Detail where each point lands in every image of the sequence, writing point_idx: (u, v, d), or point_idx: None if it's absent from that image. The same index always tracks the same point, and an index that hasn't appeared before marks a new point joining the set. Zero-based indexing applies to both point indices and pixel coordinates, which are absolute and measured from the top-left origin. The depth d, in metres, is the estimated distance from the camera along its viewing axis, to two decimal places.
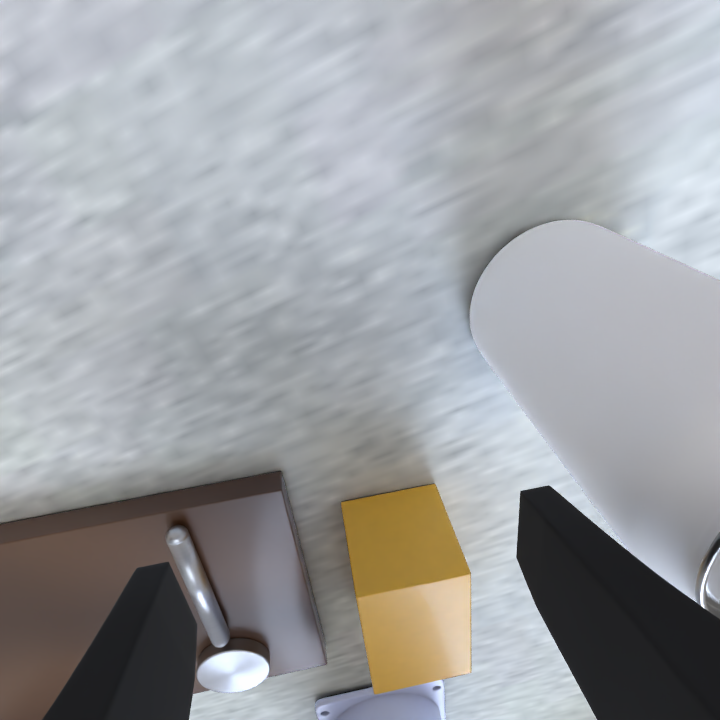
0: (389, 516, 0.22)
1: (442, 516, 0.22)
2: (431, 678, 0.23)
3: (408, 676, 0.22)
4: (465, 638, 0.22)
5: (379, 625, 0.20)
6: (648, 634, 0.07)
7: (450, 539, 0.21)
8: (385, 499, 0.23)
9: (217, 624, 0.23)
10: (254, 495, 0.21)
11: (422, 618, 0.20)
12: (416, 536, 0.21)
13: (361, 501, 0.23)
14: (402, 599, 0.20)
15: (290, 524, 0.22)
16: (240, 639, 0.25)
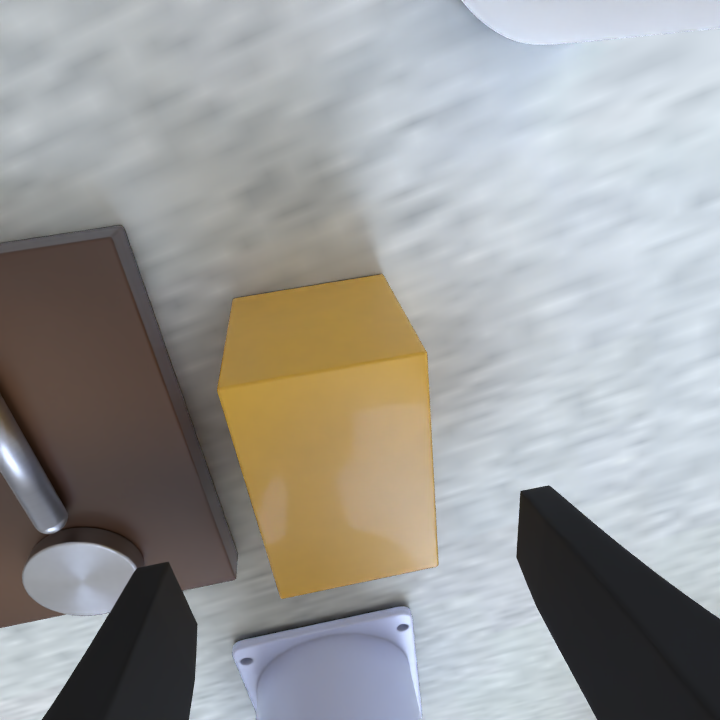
0: (303, 305, 0.14)
1: (388, 300, 0.13)
2: (372, 573, 0.14)
3: (333, 567, 0.14)
4: (424, 496, 0.13)
5: (270, 457, 0.12)
6: (648, 634, 0.07)
7: (397, 320, 0.12)
8: (302, 291, 0.15)
9: (35, 491, 0.15)
10: (63, 246, 0.12)
11: (346, 447, 0.12)
12: (341, 321, 0.13)
13: (264, 295, 0.15)
14: (304, 401, 0.11)
15: (138, 314, 0.13)
16: (90, 529, 0.16)
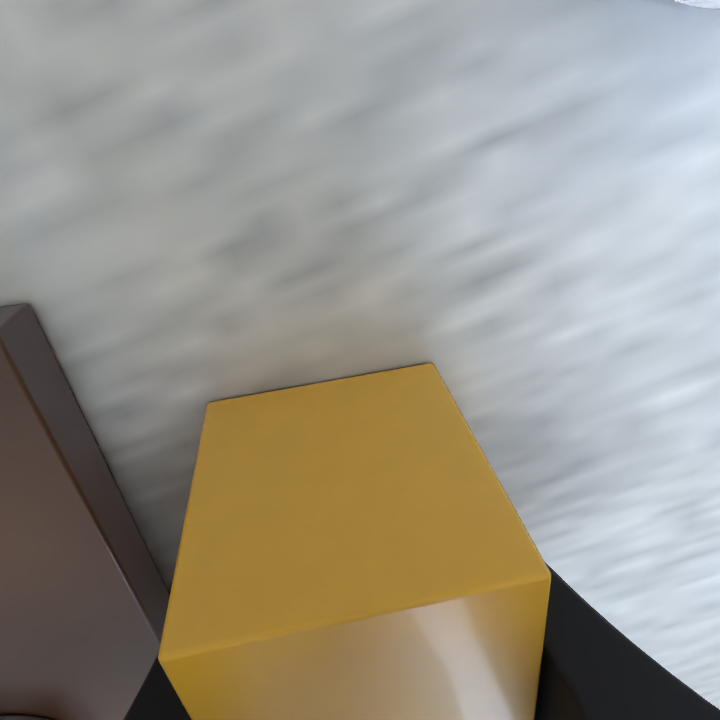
0: (315, 427, 0.09)
1: (452, 423, 0.08)
2: None
3: None
4: None
5: None
6: (554, 655, 0.07)
7: (477, 476, 0.07)
8: (312, 394, 0.10)
9: None
10: None
11: (394, 711, 0.07)
12: (380, 470, 0.08)
13: (254, 399, 0.10)
14: (322, 661, 0.06)
15: (55, 445, 0.08)
16: (8, 718, 0.11)
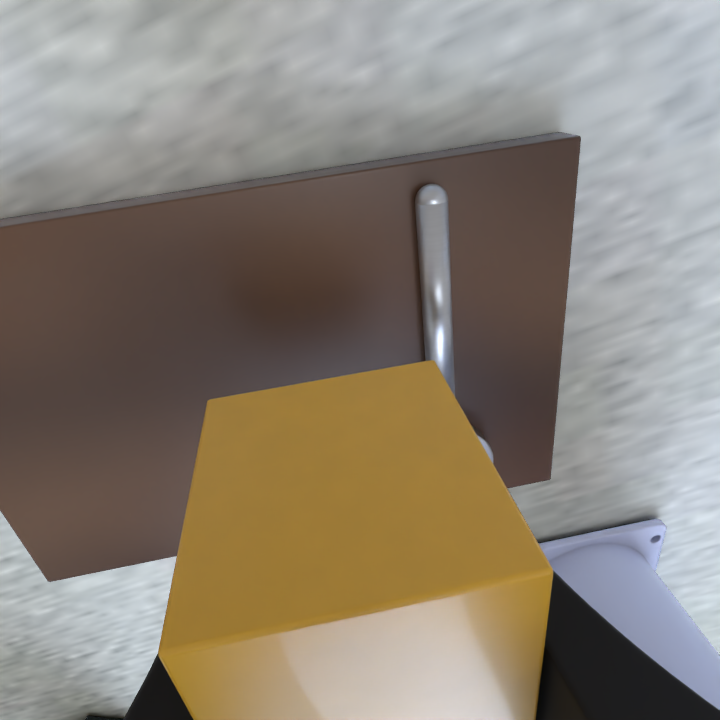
0: (316, 424, 0.09)
1: (453, 420, 0.08)
2: None
3: None
4: None
5: None
6: (554, 655, 0.07)
7: (479, 472, 0.07)
8: (313, 391, 0.10)
9: (451, 376, 0.16)
10: (543, 143, 0.14)
11: (395, 707, 0.07)
12: (382, 467, 0.08)
13: (255, 396, 0.10)
14: (322, 657, 0.06)
15: (573, 211, 0.15)
16: None
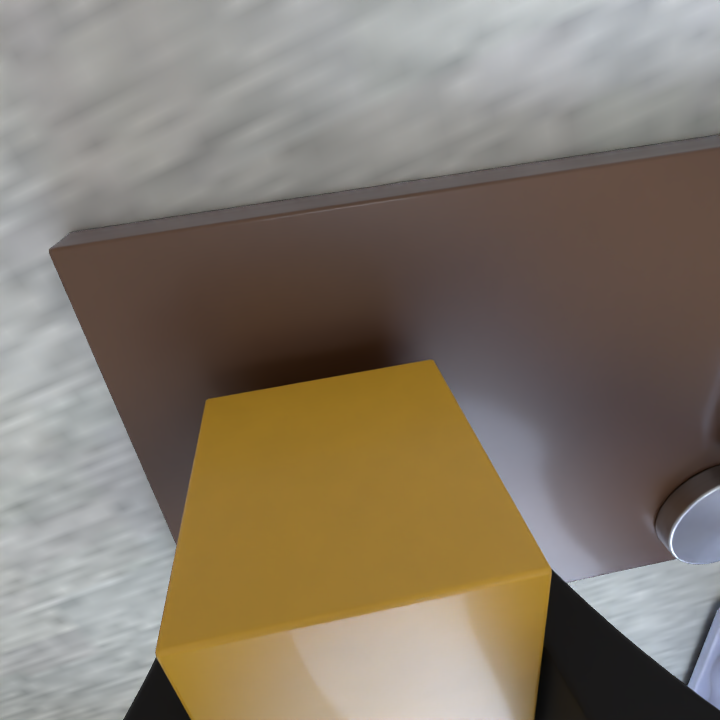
0: (314, 423, 0.09)
1: (452, 419, 0.08)
2: None
3: None
4: None
5: None
6: (554, 655, 0.07)
7: (477, 471, 0.07)
8: (311, 390, 0.10)
9: None
10: None
11: (392, 707, 0.07)
12: (379, 466, 0.08)
13: (253, 396, 0.10)
14: (321, 657, 0.06)
15: None
16: None
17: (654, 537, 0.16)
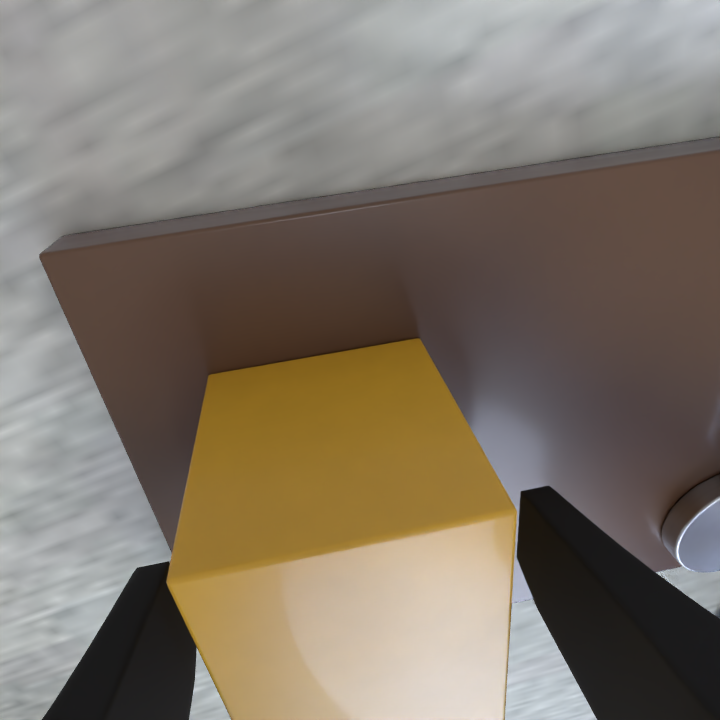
0: (309, 394, 0.09)
1: (435, 389, 0.09)
2: None
3: None
4: (492, 689, 0.09)
5: (258, 664, 0.07)
6: (648, 634, 0.07)
7: (455, 432, 0.08)
8: (306, 366, 0.10)
9: None
10: None
11: (378, 642, 0.07)
12: (367, 429, 0.08)
13: (253, 371, 0.10)
14: (313, 590, 0.07)
15: None
16: None
17: (660, 544, 0.16)
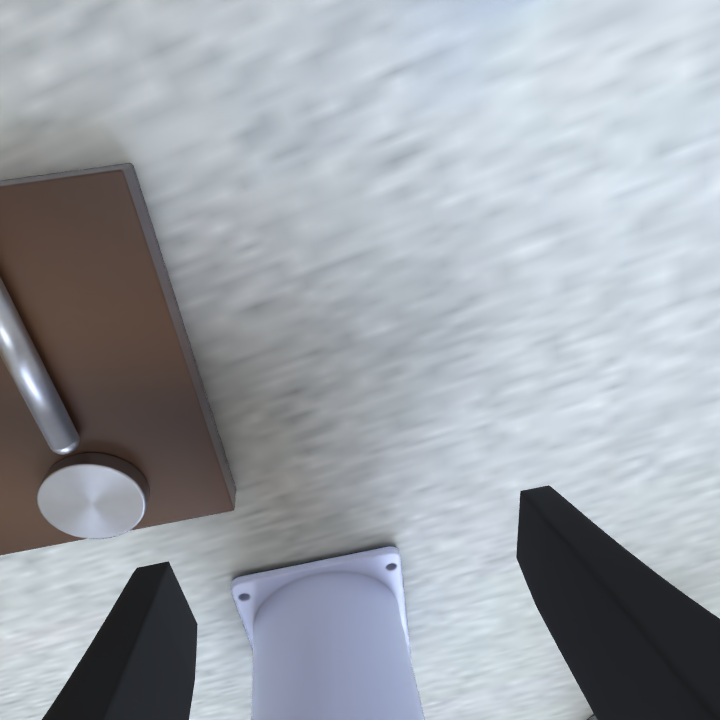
0: None
1: None
2: None
3: None
4: None
5: None
6: (648, 634, 0.07)
7: None
8: None
9: (50, 410, 0.16)
10: (79, 177, 0.14)
11: None
12: None
13: None
14: None
15: (146, 244, 0.15)
16: (100, 454, 0.18)
17: None
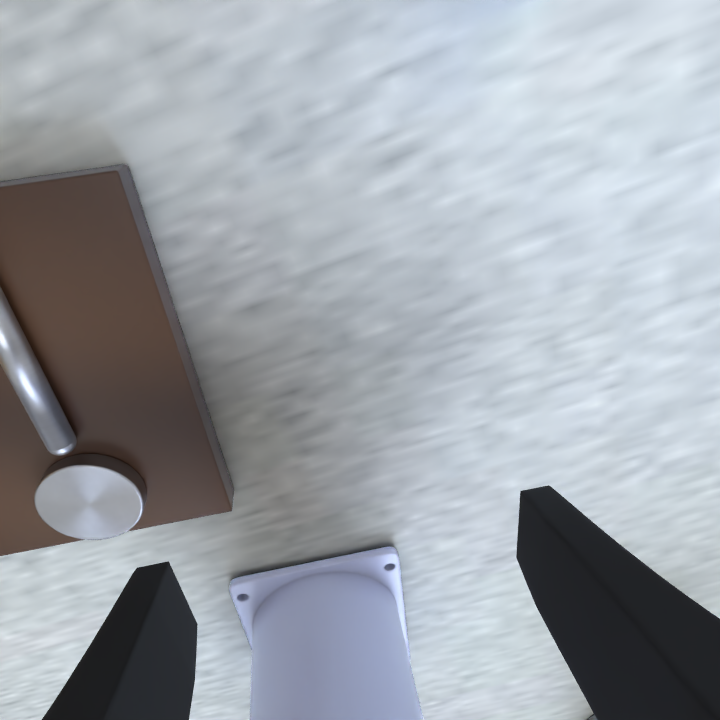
0: None
1: None
2: None
3: None
4: None
5: None
6: (648, 634, 0.07)
7: None
8: None
9: (47, 412, 0.16)
10: (75, 178, 0.14)
11: None
12: None
13: None
14: None
15: (142, 245, 0.15)
16: (97, 455, 0.18)
17: None
